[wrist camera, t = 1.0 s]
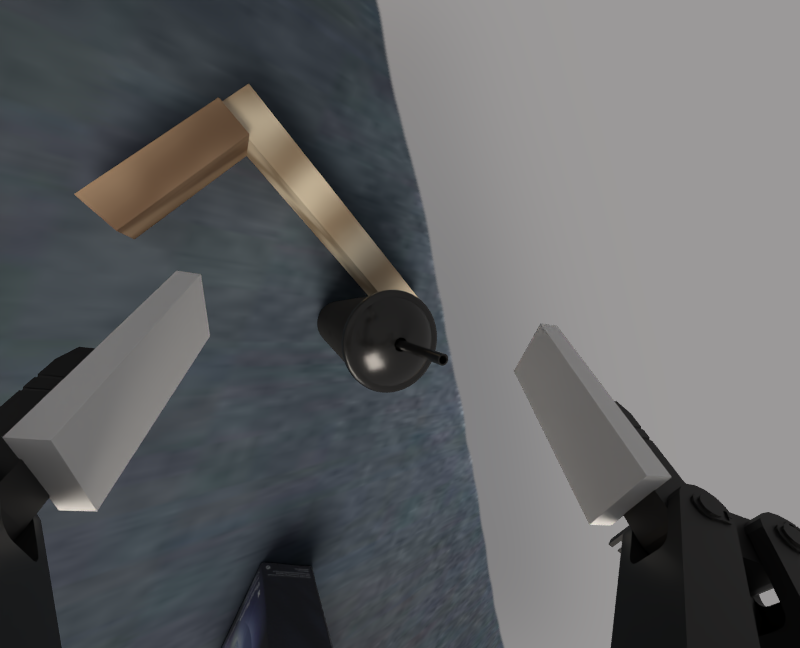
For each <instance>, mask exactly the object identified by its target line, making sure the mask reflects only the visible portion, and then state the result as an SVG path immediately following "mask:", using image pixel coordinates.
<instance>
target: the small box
mask: <svg viewBox="0 0 800 648" xmlns="http://www.w3.org/2000/svg"><path fill="white" fill-rule="evenodd" d="M222 648H333V646H332V642H331V639H330V634H329V631H328V627H327V623H326V619H325V616H324V612H323V609H322V605H321V601H320V597H319V593H318V590H317V586H316V582H315V577H314V573H313V568H312V567H311V566H298V565H287V564H279V563H261V565H260V567H259V569H258V571H257V573H256V576H255V578H254V580H253V582H252V584H251V586H250V588H249V590H248V593H247V595H246V597H245V599H244V601H243V603H242V605H241V607H240V610H239V612H238V614H237V616H236V618H235V620H234V622H233V625H232V627H231V629H230V631H229V633H228V635H227V637H226V639H225V642H224V644H223V646H222Z"/></svg>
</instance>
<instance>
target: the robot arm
mask: <svg viewBox="0 0 800 648" xmlns="http://www.w3.org/2000/svg"><path fill="white" fill-rule="evenodd" d="M209 337H210V333H209V326H208V319H207V313H206V306H205V299H204V293H203V286H202V279H201V274H196V273H189V272H182V271H176V272H175V273H174V274H173V275H172V276H171V277H170V278H169V279H168V280H166V281H165V282H164V283H163V284H162V285H161V286H160V287H159V288H158V289H157V290H156V291H155V292H154V293H153V294H152V295H151V296H150V297H149V298H148V299H147V300H146V301H145V302H143V303H142V304H141V305H140V306H139V307H138V308H137V309H136V310H135V311H134V312H133V313H132V314H131V315H130V316H129V317H128V318H127V319H126V320H125V321H124V322H123V323H122V324H120V325H119V326H118V327H117V328H116V329H115V330H114V331H113V332H112V333H111V334H110V335H109V336H108V337H107V338H106V339H105V340H104V341H103V342H102V343H101V344H100V345H98V346H97V347H96V348H95V349H94V348H85V347H78V348H76V349H74V350H72V351H70V352H68V353H66V354H64V355H62V356H60V357H58V358H56V359H55V360H54V361H53V362H51V363H50V364H49V365H48V366H47V367H46V368H44V369H43V370H42V371H41V372H40V373H39V374H38V377H34V378H33V379H32V380H31V381H29V382H28V383H27V384H26V385H25V386H24V387H23V390H22V391H21V390H19V391H18V392H17V393H16V394H15V395H13V396H12V397H11V398H10V399H9V400H8V401H6V402H5V403H4V404H3V405H2V406H1V407H0V648H62V647H61V641H60V635H59V629H58V623H57V617H56V610H55V604H54V598H53V592H52V586H51V580H50V574H49V568H48V561H47V555H46V549H45V543H44V537H43V531H42V525H41V520H40V518H39V517H38V515H37V513H38V511H39V510H40V509H41V507H42V506H43V505H44V504H45V502H46V501H47V500H48V498H50V499H51V501H52V502H53V503H54V505H55V506H56V507H57V508H58V510H68V511H97V510H98V509H99V507H100V506H101V504H102V503H103V501H104V500H105V498H106V496H107V495H108V493H109V492H110V490H111V489H112V487H113V486H114V484H115V483H116V481H117V479H118V478H119V476H120V475H121V473H122V472H123V470H124V469H125V467H126V465H127V464H128V462H129V461H130V459H131V458H132V456H133V455H134V453H135V451H136V450H137V448H138V447H139V445H140V444H141V442H142V441H143V439H144V438H145V436H146V434H147V433H148V431H149V430H150V428H151V427H152V425H153V424H154V422H155V420H156V419H157V417H158V416H159V414H160V413H161V411H162V410H163V408H164V406H165V405H166V403H167V402H168V400H169V399H170V397H171V396H172V394H173V393H174V391H175V389H176V388H177V386H178V385H179V383H180V382H181V380H182V379H183V377H184V375H185V374H186V372H187V371H188V369H189V368H190V366H191V365H192V363H193V361H194V360H195V358H196V357H197V355H198V354H199V352H200V351H201V349H202V348H203V346H204V344H205V343H206V341H207V340H208V338H209ZM514 372H515V374H516V376H517V378H518V380H519V382H520V384H521V386H522V388H523V390H524V392H525V394H526V396H527V398H528V400H529V402H530V404H531V407H532V409H533V410H534V413H535V415H536V417H537V419H538V420H539V423H540V425H541V427H542V429H543V431H544V433H545V435H546V437H547V439H548V441H549V443H550V445H551V447H552V449H553V451H554V453H555V455H556V457H557V459H558V461H559V464H560V466H561V468H562V469H563V472H564V473H565V476H566V478H567V480H568V482H569V484H570V486H571V488H572V490H573V492H574V494H575V496H576V498H577V500H578V502H579V504H580V506H581V508H582V510H583V512H584V514H585V516H586V519H587V521H588V522H589V525H612V524H614V523H615V522H616V521H617V520H618V519H620V518H621V517H622V516H624V517H625V518H626V520H627V522H628V524H629V526H628V527H626V528H625V529H624V530H622V531H621V532H620V533H619V534H617V535H616V536H615V537H613V538H612V539H611V540H610V543H609V545H610V546H611V547H613V546H614V545H616V544H617V543H619V542H620V541H622V548H620V549H619V550H618V551H619V552H620V553H621V558H620V568H619V576H618V586H617V596H616V604H615V614H614V624H613V633H612V642H611V648H800V529H799V528H798V527H796V526H795V525H794V524H793V523H791V522H789V521H788V520H786V519H784V518H782V517H780V516H778V515H775V514H772V513H769V512H767V513H762V514H760V515H758V516H757V517H755V518H753V519H751V520H749V519H746V518H743V517H741V516H738V515H735V514H732V513H730V512H729V511H728V510H727V509H726V507H724V505H723V504H722V503H721V502H719V500H717V499H716V498H715V497H714V496H713V495H711V494H710V493H708V492H707V491H705V490H704V489H702V488H699V487H697V486H695V485H689V484H686V483H685V482H684V481H683V480H682V479H681V477H680V476H679V475H678V474H677V472H676V471H675V470H674V468H673V467H672V466H671V465H670V463H669V462H668V461H667V459H666V458H665V457H664V456H663V454H662V453H661V452H660V450H659V449H658V448H657V447H656V445H655V444H654V443H653V441H651V440H649V436H648V435H647V434H646V433H645V431H644V430H643V429H641V426H640V425H639V424H638V422H637V421H636V420H635V418H634V417H633V416H632V415H631V413H629V412H628V411H627V410H626V409H625V408H624V407H622V406H621V405H620V404H619V403H618V402H617V401H614V400H613V399H612V398H611V396H610V395H609V394H608V392H607V391H606V390H605V389H604V387H603V386H602V384H601V383H600V382H599V381H598V379H597V378H596V377H595V375H594V374H593V373H592V371H591V370H590V369H589V367H588V366H587V365H586V363H585V362H584V361H583V360H582V358H581V357H580V356H579V354H578V353H577V352H576V350H575V349H574V348H573V346H572V345H571V344H570V342H569V341H568V340H567V338H566V337H565V336H564V334H563V333H562V332H561V331H560V329H559V328H558V327H557V326H555V325H547V324H540V326H539V327H538V329H537V331H536V333H535V334H534V336H533V338H532V340H531V341H530V343H529V345H528V347H527V349H526V351H525V352H524V354H523V356H522V358H521V360H520V361H519V363H518V365H517V367H516V368H515V370H514ZM773 588H774V590H775V592H776V594H777V596H778V598H779V600H780V602H779V603H777V604H774V605H771V606H767V607H766V606H764V604H763V603H762V601H761V599H760V597H759V594H761V593H763V592H765V591H768V590H770V589H773Z"/></svg>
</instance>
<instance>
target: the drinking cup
mask: <svg viewBox="0 0 800 648" xmlns="http://www.w3.org/2000/svg"><path fill="white" fill-rule="evenodd" d="M318 330H319V333H320V335H321V336H322V337H323V339H324V340H325V341H326V342H327V343H328V344H329V345H330V346H331V347H332V349H333V350H334V351H335V352H336V353H337V354H338V355H339V356H340V357H341V359H342V360H343V361H344V362H345V364H346V366H347V368H348V370H349V372H350V373H351V375H352V376H353V377H354V378H355V379H356V380H357V381H358V382H359V383H360V384H362V385H363V386H365V387H366V388H368V389H371V390H373V391H377V392H386V393H388V392H396V391H399V390H402V389H405V388H407V387H409V386H410V385H412V384H414V383H415V382H416V381H417V380H418V379H419V378H421V376H422V375H423V374H424V373H425V372H426V370H427V369H428V367H429V365H430V364H431V362H434V363H436V364H439V365H442V366H443V365H445V364H446V363H447V362H448V356H447V355H446V354H443V353H440V352H437V351H435V350H436V343H437V331H436V325H435V322H434V319H433V316H432V314H431V312H430V311H429V309H428V308H427V306H426V305H425V304H424V303H423V302H422V301H421V300H420V299H419V298H417V297H416V296H414V295H413V294H410V293H408V292H405V291H401V290H384V291H379V292H376V293H374V294H372V295H370V296H368V297H361V298H354V299H348V300H341V301H335V302H332V303H330V304H328V305H326V306H325V307H324V308H323V309H322V311H321V312H320V314H319V317H318Z"/></svg>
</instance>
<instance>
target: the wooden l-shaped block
mask: <svg viewBox="0 0 800 648" xmlns="http://www.w3.org/2000/svg"><path fill="white" fill-rule="evenodd" d="M246 156H247V157H248V158H249V159H250V160H251V161H252V162H253V164H254V165H255V166H256V167H257V168H258V169H259V171H260V172H261V173H262V174H263V175H264V176H265V177H266V179H267V180H268V181H269V182H270V183H271V184H272V186H273V187H274V188H275V189H276V190H277V191H278V192H279V194H280V195H281V196H282V197H283V198H284V199H285V200H286V202H287V203H288V204H289V205H290V206H291V207H292V209H293V210H294V211H295V212H296V213H297V214H298V215H299V217H300V218H301V219H302V220H303V221H304V222H305V223H306V225H307V226H308V227H309V228H310V229H311V230H312V232H313V233H314V234H315V235H316V236H317V237H318V238H319V240H320V241H321V242H322V243H323V244H324V245H325V246H326V248H327V249H328V250H329V251H330V252H331V253H332V255H333V256H334V257H335V258H336V259H337V260H338V261H339V263H340V264H341V265H342V266H343V267H344V268H345V270H346V271H347V272H348V273H349V274H350V275H351V276H352V278H353V279H354V280H355V281H356V282H357V283H358V284H359V286H360V287H361V288H362V289H363V290H364V291H365V293H366V294H367V295H368V296H370V295H372V294H374V293H376V292H379V291H384V290H401V291H405V292H408V293H410V294H413V295H414V296H416V295H415V293H414V292H413V291H412V290H411V288H410V287H409V286H408V284H407V283H406V282H405V281H404V279H403V278H402V277H401V276H400V274H399V273H398V272H397V271H396V269H395V268H394V267H393V265H392V264H391V263H390V262H389V260H388V259H387V258H386V257H385V255H384V254H383V253H382V252H381V250H380V249H379V248H378V246H377V245H376V244H375V243H374V241H373V240H372V239H371V238H370V236H369V235H368V234H367V233H366V231H365V230H364V229H363V228H362V226H361V225H360V224H359V222H358V221H357V220H356V219H355V217H354V216H353V215H352V214H351V212H350V211H349V210H348V209H347V207H346V206H345V205H344V203H343V202H342V201H341V200H340V198H339V197H338V196H337V195H336V193H335V192H334V191H333V190H332V188H331V187H330V186H329V185H328V183H327V182H326V181H325V179H324V178H323V177H322V176H321V174H320V173H319V172H318V171H317V169H316V168H315V167H314V166H313V164H312V163H311V162H310V160H309V159H308V158H307V157H306V155H305V154H304V153H303V152H302V150H301V149H300V148H299V147H298V145H297V144H296V143H295V142H294V140H293V139H292V138H291V136H290V135H289V134H288V133H287V131H286V130H285V129H284V128H283V126H282V125H281V124H280V123H279V121H278V120H277V119H276V117H275V116H274V115H273V114H272V112H271V111H270V110H269V109H268V107H267V106H266V105H265V104H264V102H263V101H262V100H261V98H260V97H259V96H258V95H257V93H256V92H255V91H254V90H253V88H252V87H251V86H250V85H249V84H247V85H246V86H244V87H243V88H241V89H240V90H239V91H237V92H236V93H234V94H233V95H231V96H230V97H228V98H227V99H225V100H224V101H221V100H220V98H219V97H218V98H217V99H215V100H214V101H212V102H211V103H209V104H208V105H206V106H205V107H203V108H202V109H200V110H199V111H198V112H196V113H195V114H193V115H192V116H190V117H189V118H187V119H186V120H184V121H183V122H181V123H180V124H178V125H177V126H175V127H174V128H172V129H171V130H169V131H168V132H166V133H165V134H163V135H162V136H160V137H159V138H157V139H156V140H154V141H153V142H151V143H150V144H148V145H147V146H145V147H144V148H142V149H141V150H139V151H138V152H136V153H135V154H133V155H132V156H130V157H129V158H127V159H126V160H124V161H123V162H121V163H120V164H118V165H117V166H115V167H114V168H112V169H111V170H109V171H108V172H106V173H105V174H103V175H102V176H100V177H99V178H97V179H96V180H94V181H93V182H91V183H90V184H88V185H87V186H85V187H84V188H83V189H81V190H80V191H78V192H77V193H75V194H74V195H76V196H77V197H78V198H79V199H80V200H81V201H83V202H84V203H85V204H86V205H87V206H88V207H89V208H91V209H92V210H93V211H94V212H95V213H96V214H98V215H99V216H100V217H101V218H102V219H103V220H105V221H106V222H107V223H108V224H109V225H110V226H111V227H113V228H114V229H115V230H116V231H118V232H120V233H122V234H124V235H127V236H129V237H131V238H133V239H136V238H137V237H138V236H140V235H141V234H142V233H144V232H145V231H146V230H148V229H149V228H150V227H152V226H153V225H154V224H156V223H157V222H158V221H160V220H161V219H162V218H164V217H165V216H166V215H168V214H169V213H170V212H172V211H173V210H174V209H176V208H177V207H178V206H180V205H181V204H182V203H184V202H185V201H186V200H188V199H189V198H191V197H192V196H193V195H195V194H196V193H197V192H199V191H200V190H201V189H203V188H204V187H205V186H207V185H208V184H209V183H211V182H212V181H213V180H215V179H216V178H217V177H219V176H220V175H221V174H223V173H224V172H225V171H227V170H228V169H229V168H231V167H232V166H233V165H235V164H236V163H237V162H239V161H240V160H241V159H243V158H244V157H246ZM416 297H417V296H416ZM417 298H418V297H417Z"/></svg>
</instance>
